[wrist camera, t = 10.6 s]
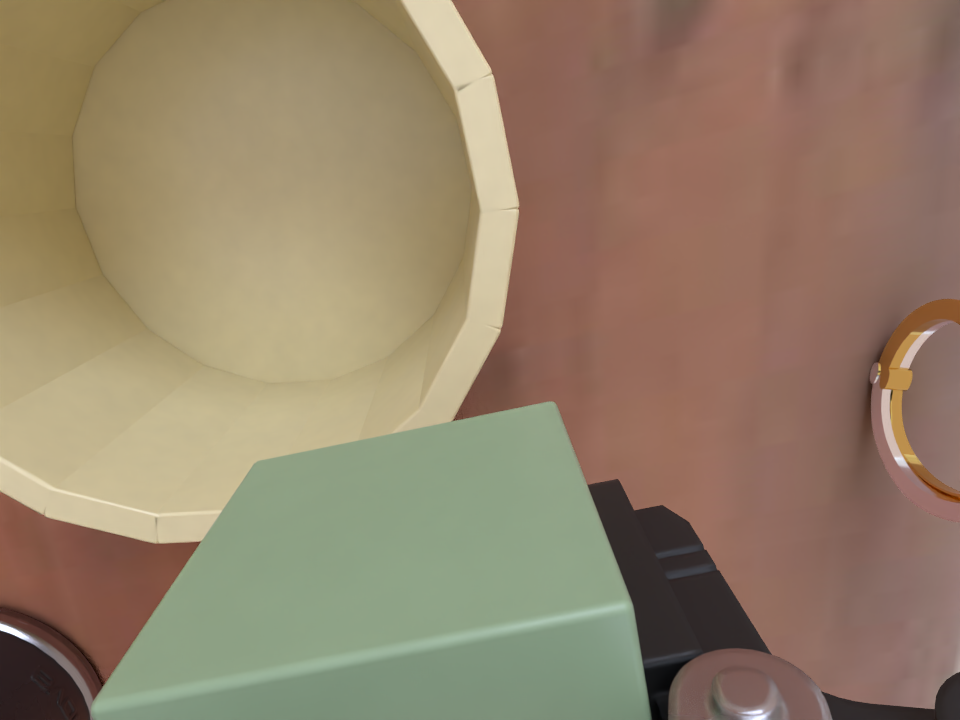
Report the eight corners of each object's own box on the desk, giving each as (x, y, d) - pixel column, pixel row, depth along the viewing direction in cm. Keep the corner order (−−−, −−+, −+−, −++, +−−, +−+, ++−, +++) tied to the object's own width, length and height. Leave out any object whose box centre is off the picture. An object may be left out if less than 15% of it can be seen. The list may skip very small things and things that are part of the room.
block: (336, 697, 11) (254, 1053, 7) (253, 459, 9) (81, 710, 5) (601, 647, 11) (694, 977, 6) (555, 398, 9) (634, 604, 5)
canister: (154, 435, 24) (-28, 601, 15) (-19, 11, 20) (-419, -110, 11) (529, 353, 24) (572, 474, 15) (435, -102, 19) (414, -329, 10)
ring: (897, 458, 25) (1083, 587, 18) (818, 453, 25) (972, 580, 18) (950, 283, 23) (1186, 344, 16) (864, 276, 23) (1061, 335, 16)
